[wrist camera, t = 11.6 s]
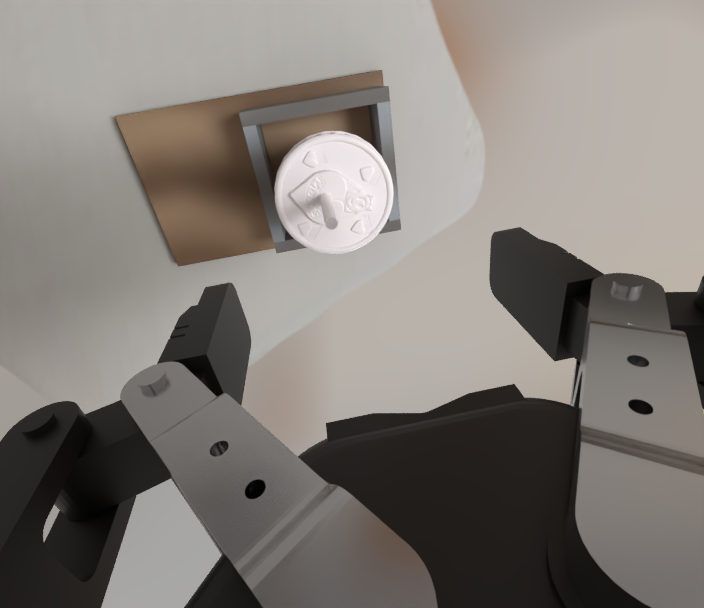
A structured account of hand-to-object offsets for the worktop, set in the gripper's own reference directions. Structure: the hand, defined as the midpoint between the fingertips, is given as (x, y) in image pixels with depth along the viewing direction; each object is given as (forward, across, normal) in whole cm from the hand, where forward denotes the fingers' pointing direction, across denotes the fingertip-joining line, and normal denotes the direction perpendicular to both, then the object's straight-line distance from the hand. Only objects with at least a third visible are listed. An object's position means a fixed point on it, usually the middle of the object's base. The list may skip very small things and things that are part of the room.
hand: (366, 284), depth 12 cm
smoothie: (+20, 0, 0) cm, 20 cm away
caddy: (+20, +4, 0) cm, 21 cm away
